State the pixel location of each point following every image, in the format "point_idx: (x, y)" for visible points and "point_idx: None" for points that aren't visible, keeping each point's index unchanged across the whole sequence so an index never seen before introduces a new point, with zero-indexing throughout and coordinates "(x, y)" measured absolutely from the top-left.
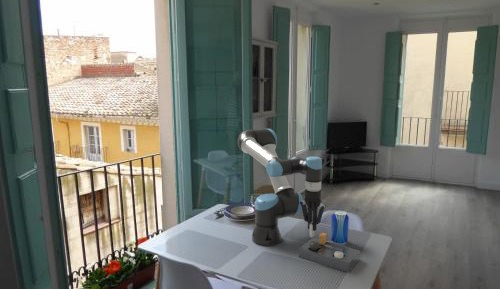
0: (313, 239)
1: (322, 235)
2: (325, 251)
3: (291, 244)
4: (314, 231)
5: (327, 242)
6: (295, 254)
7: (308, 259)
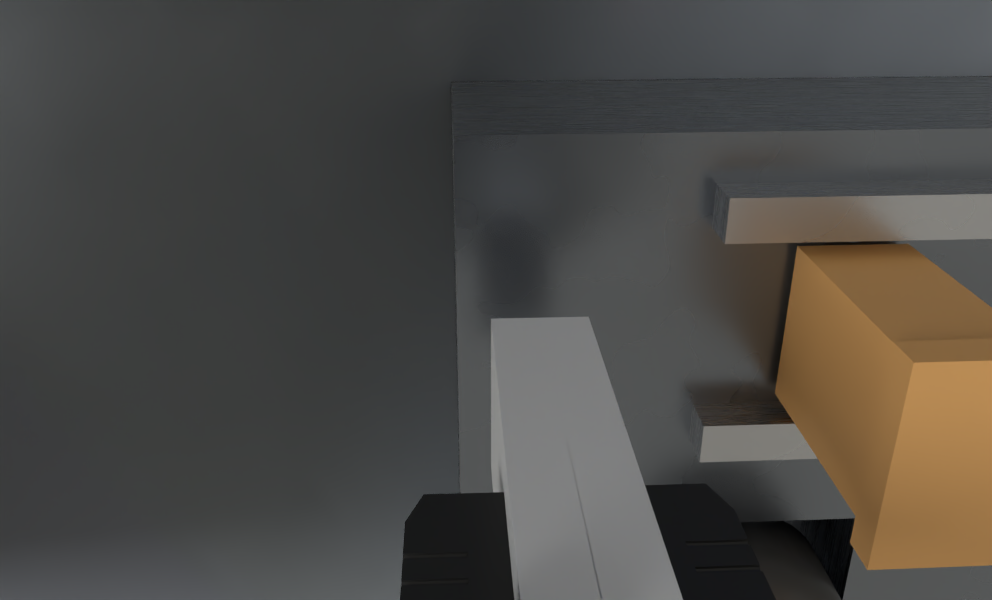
0: (526, 230)
1: (976, 542)
2: (985, 581)
3: (37, 283)
4: (611, 398)
5: (954, 231)
6: (365, 558)
7: None
